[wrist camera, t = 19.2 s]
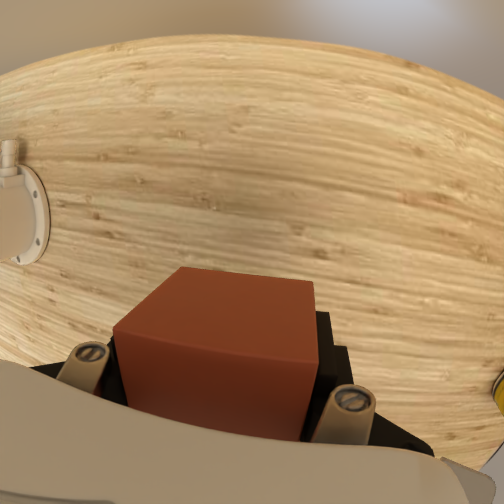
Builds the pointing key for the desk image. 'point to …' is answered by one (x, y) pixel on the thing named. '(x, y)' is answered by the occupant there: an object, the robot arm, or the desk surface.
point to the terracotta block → (223, 352)
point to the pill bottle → (499, 393)
